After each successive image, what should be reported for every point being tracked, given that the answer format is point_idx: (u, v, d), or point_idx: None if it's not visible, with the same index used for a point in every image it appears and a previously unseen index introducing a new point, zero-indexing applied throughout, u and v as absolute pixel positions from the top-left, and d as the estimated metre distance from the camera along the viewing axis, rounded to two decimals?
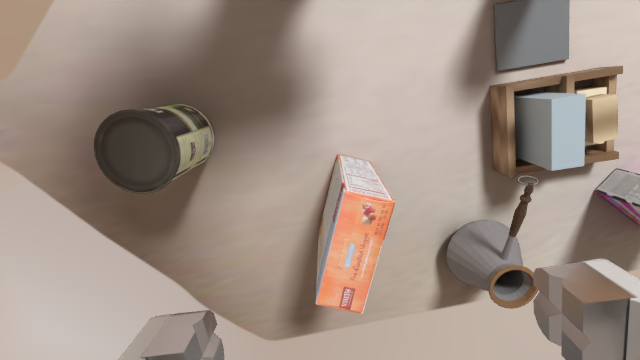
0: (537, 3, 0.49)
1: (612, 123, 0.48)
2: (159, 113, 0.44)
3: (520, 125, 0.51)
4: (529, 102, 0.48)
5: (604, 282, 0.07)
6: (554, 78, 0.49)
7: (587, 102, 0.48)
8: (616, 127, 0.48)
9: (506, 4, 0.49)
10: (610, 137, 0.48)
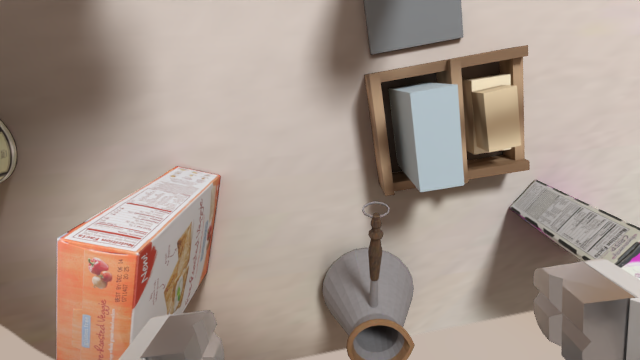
0: None
1: (512, 125, 0.35)
2: None
3: (398, 126, 0.38)
4: (399, 96, 0.35)
5: (604, 282, 0.07)
6: (436, 63, 0.36)
7: (479, 96, 0.35)
8: (518, 130, 0.35)
9: None
10: (510, 144, 0.36)
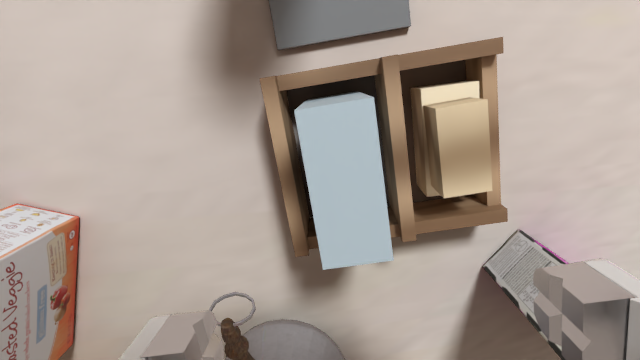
0: None
1: (480, 159, 0.23)
2: None
3: None
4: None
5: (604, 283, 0.07)
6: (364, 63, 0.24)
7: (431, 113, 0.23)
8: (488, 168, 0.23)
9: None
10: (476, 188, 0.23)
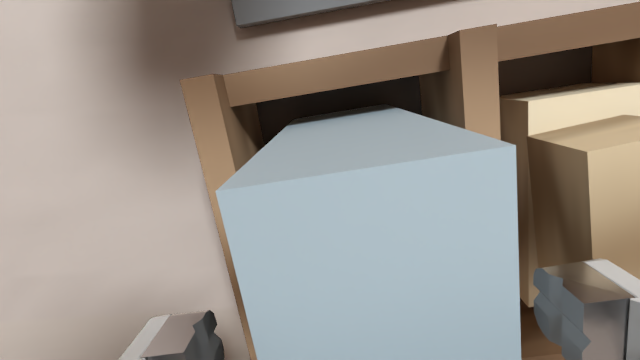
0: None
1: None
2: None
3: None
4: None
5: (604, 283, 0.07)
6: (414, 46, 0.11)
7: (565, 159, 0.10)
8: None
9: None
10: None
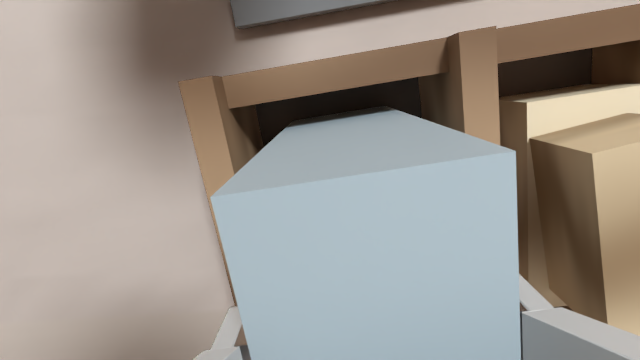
0: None
1: None
2: None
3: None
4: None
5: None
6: (413, 48, 0.11)
7: (570, 161, 0.10)
8: None
9: None
10: None
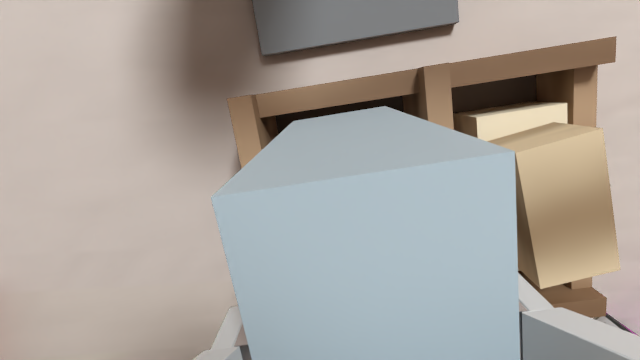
0: None
1: (596, 224, 0.14)
2: None
3: None
4: None
5: None
6: (393, 76, 0.15)
7: None
8: (611, 236, 0.14)
9: None
10: (594, 269, 0.14)
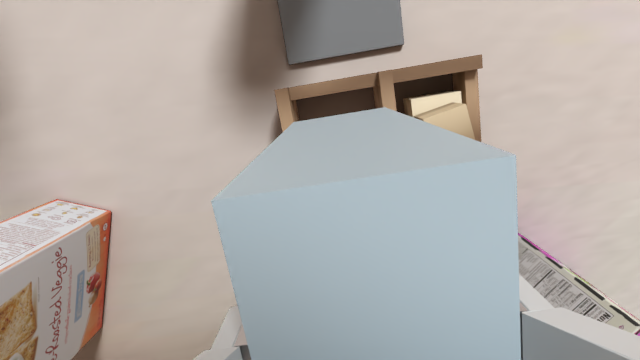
0: None
1: None
2: None
3: None
4: None
5: None
6: (364, 76, 0.28)
7: None
8: None
9: None
10: None
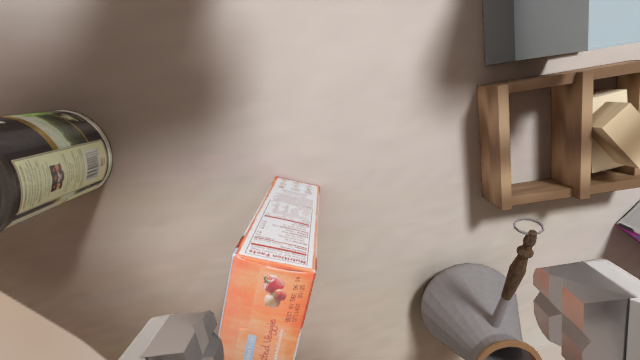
0: None
1: None
2: None
3: (534, 1, 0.33)
4: None
5: (604, 283, 0.07)
6: (565, 75, 0.35)
7: (597, 129, 0.35)
8: None
9: None
10: None
